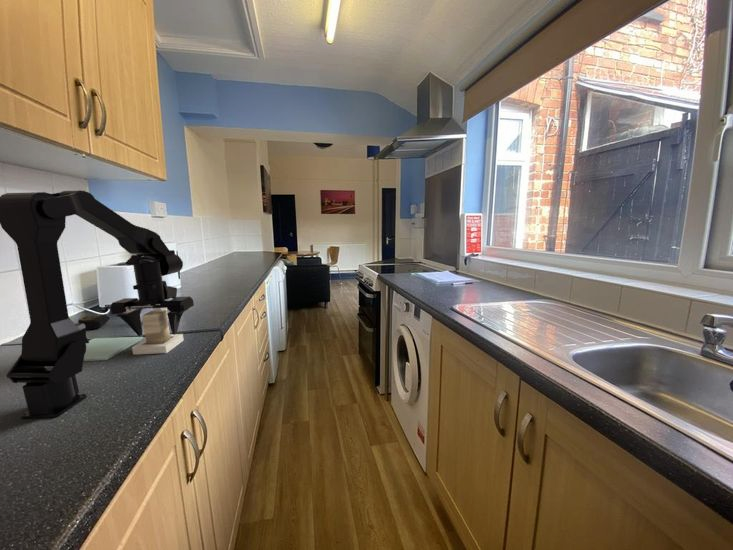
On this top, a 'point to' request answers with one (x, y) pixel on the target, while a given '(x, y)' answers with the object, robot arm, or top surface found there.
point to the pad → (107, 347)
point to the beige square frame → (158, 346)
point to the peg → (156, 327)
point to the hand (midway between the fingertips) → (157, 334)
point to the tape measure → (94, 321)
